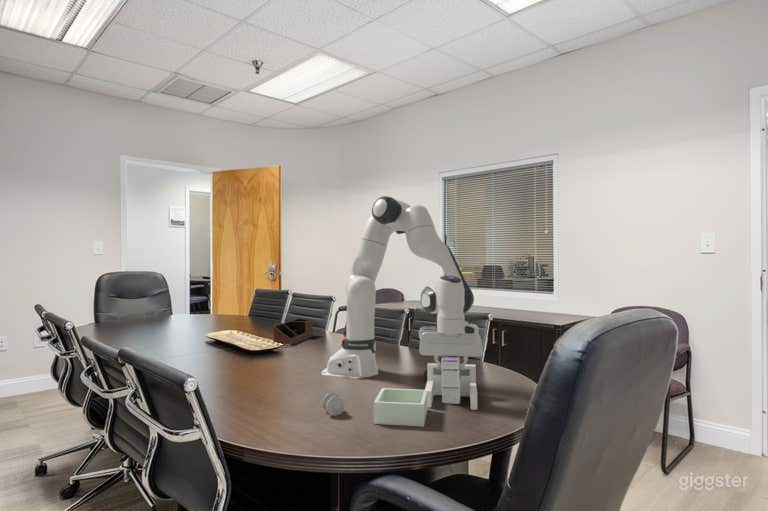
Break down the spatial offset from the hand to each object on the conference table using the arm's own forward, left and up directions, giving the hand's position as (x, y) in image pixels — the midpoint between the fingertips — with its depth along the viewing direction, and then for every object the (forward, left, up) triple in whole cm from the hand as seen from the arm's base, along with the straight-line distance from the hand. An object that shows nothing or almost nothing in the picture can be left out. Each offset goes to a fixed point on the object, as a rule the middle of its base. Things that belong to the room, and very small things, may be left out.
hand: (451, 369), depth 149 cm
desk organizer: (-86, +88, -11) cm, 124 cm away
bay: (0, 0, -10) cm, 10 cm away
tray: (-14, -17, -10) cm, 24 cm away
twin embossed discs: (-34, -17, -10) cm, 40 cm away
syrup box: (0, 0, -10) cm, 10 cm away
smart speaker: (-6, +23, -10) cm, 26 cm away
